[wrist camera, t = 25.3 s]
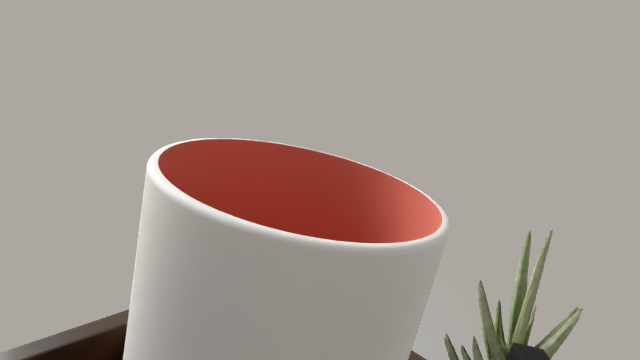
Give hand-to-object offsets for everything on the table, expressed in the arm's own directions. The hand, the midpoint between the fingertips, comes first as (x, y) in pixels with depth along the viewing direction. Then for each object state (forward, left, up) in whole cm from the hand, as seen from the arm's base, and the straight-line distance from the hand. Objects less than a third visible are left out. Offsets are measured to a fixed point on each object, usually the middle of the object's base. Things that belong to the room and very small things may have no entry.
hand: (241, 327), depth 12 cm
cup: (+4, +4, -8) cm, 9 cm away
